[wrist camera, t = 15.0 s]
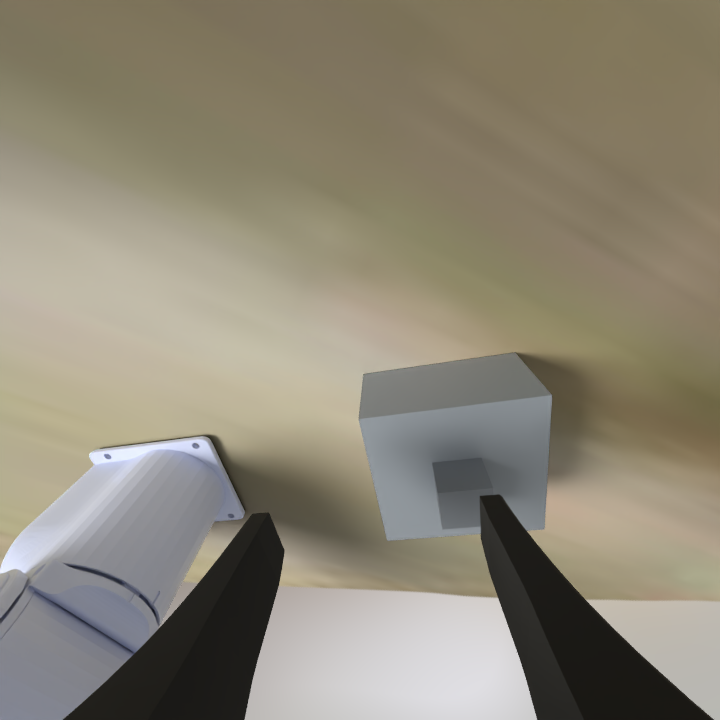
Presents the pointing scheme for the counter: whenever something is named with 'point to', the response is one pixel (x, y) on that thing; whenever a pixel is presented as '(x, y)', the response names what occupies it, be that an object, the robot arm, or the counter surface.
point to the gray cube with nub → (456, 444)
